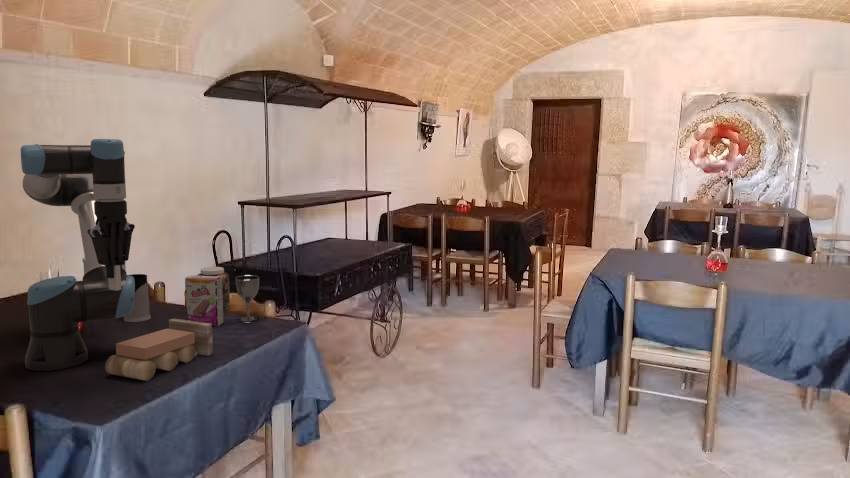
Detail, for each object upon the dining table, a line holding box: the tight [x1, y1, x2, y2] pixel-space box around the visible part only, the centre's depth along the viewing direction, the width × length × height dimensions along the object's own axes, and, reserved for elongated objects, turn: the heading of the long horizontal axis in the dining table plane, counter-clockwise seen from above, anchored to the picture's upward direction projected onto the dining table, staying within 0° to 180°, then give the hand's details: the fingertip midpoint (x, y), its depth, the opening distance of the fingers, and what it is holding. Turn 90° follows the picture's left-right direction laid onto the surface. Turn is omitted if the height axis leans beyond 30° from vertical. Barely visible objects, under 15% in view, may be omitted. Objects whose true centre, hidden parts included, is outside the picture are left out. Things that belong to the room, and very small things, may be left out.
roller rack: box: [104, 317, 214, 382], centre depth 176 cm, size 26×14×9 cm, turn 159°
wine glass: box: [234, 274, 260, 321], centre depth 221 cm, size 8×8×15 cm
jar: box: [196, 266, 231, 312], centre depth 235 cm, size 12×12×15 cm
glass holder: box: [123, 273, 152, 323], centre depth 221 cm, size 9×14×15 cm, turn 81°
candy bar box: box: [184, 274, 224, 327], centre depth 214 cm, size 11×5×16 cm, turn 84°
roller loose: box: [170, 345, 195, 364], centre depth 181 cm, size 5×11×5 cm, turn 69°
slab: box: [115, 328, 195, 360], centre depth 174 cm, size 18×10×3 cm, turn 158°
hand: (115, 289), depth 167 cm, fingers closed
